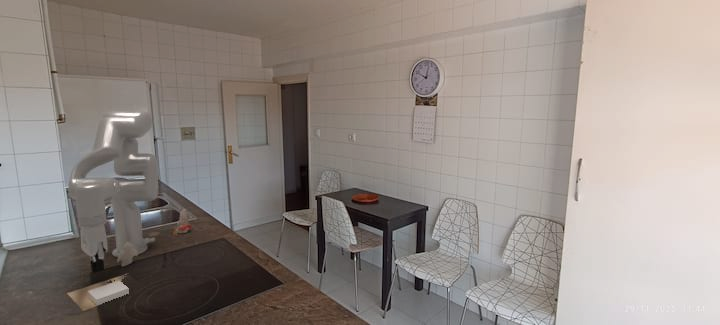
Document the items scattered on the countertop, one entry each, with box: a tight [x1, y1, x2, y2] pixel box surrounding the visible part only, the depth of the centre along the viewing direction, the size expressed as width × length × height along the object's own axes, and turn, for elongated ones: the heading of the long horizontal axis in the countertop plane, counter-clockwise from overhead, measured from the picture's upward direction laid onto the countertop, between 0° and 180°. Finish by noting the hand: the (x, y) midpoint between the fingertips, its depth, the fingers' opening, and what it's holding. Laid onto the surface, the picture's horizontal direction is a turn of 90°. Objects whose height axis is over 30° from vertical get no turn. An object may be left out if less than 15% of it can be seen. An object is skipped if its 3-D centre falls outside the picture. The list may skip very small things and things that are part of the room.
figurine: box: [173, 209, 192, 236], centre depth 173 cm, size 9×7×12 cm
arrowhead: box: [116, 242, 139, 267], centre depth 136 cm, size 8×3×10 cm, turn 154°
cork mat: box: [66, 273, 128, 312], centre depth 118 cm, size 18×16×1 cm
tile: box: [88, 281, 130, 306], centre depth 115 cm, size 9×2×8 cm
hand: (98, 270), depth 119 cm, fingers closed
